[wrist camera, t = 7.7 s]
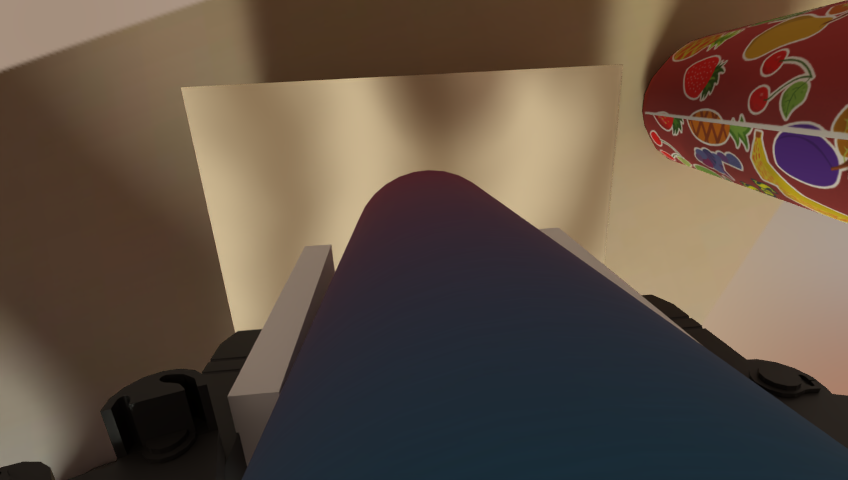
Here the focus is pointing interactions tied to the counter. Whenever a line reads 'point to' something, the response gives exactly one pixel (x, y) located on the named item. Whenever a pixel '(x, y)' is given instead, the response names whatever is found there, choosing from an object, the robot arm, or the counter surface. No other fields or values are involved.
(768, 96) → the smoothie
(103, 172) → the counter surface
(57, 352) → the counter surface
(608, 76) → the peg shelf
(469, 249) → the cup
